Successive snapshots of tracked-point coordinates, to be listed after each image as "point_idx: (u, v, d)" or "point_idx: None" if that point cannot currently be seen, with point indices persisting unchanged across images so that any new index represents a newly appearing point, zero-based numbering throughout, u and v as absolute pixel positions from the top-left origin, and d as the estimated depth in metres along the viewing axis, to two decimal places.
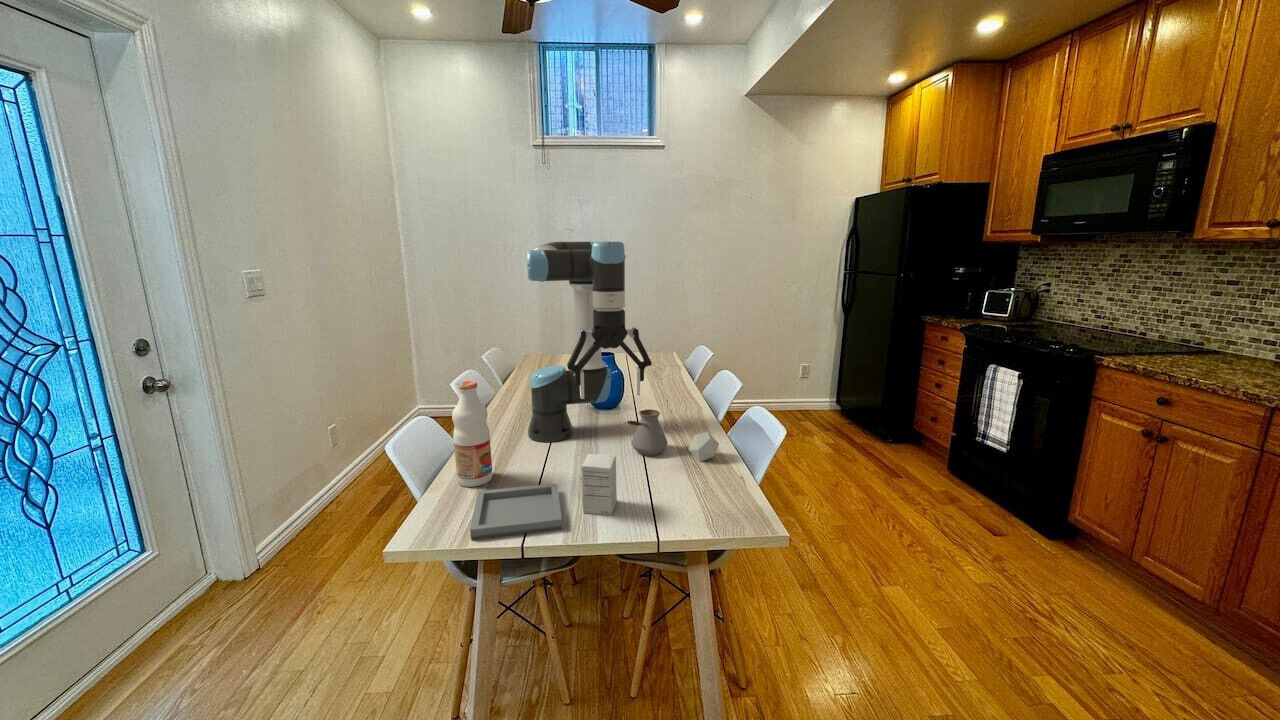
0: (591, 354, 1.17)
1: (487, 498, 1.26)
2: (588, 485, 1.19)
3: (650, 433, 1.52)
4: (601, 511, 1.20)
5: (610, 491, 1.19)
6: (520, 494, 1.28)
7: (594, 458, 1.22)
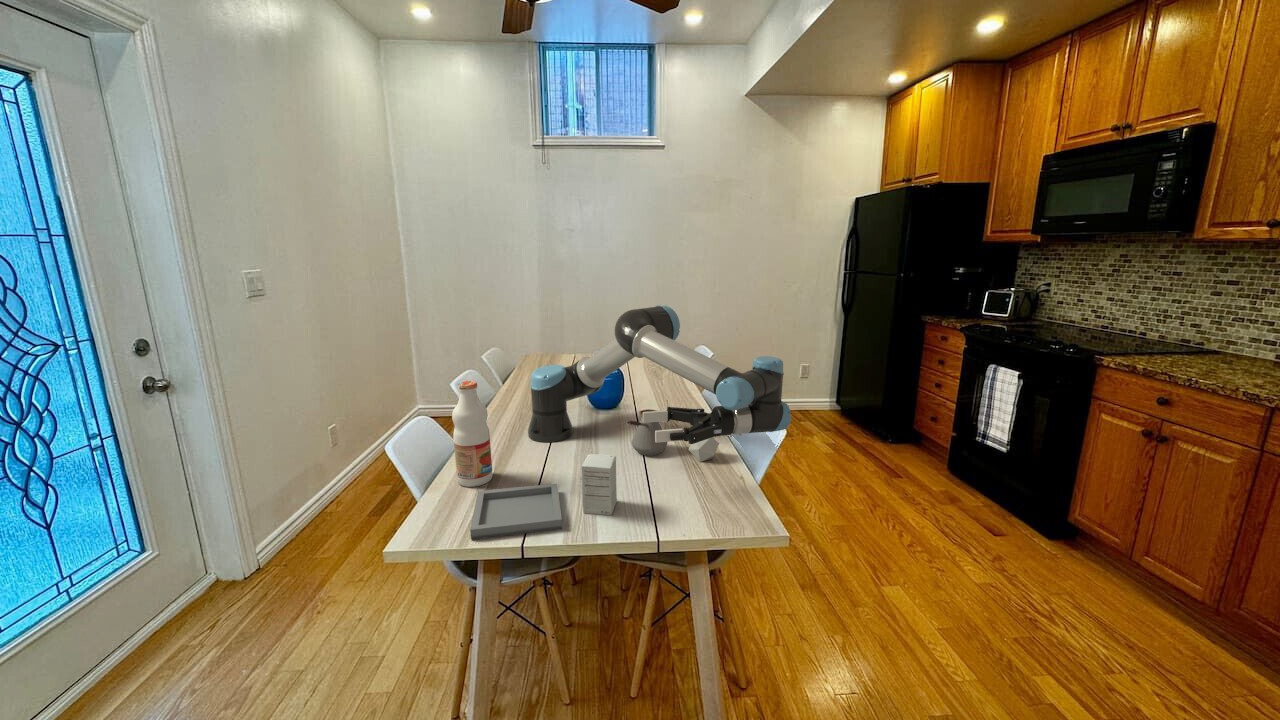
0: None
1: (487, 498, 1.26)
2: (588, 485, 1.19)
3: (650, 433, 1.52)
4: (601, 511, 1.20)
5: (610, 491, 1.19)
6: (520, 494, 1.28)
7: (594, 458, 1.22)
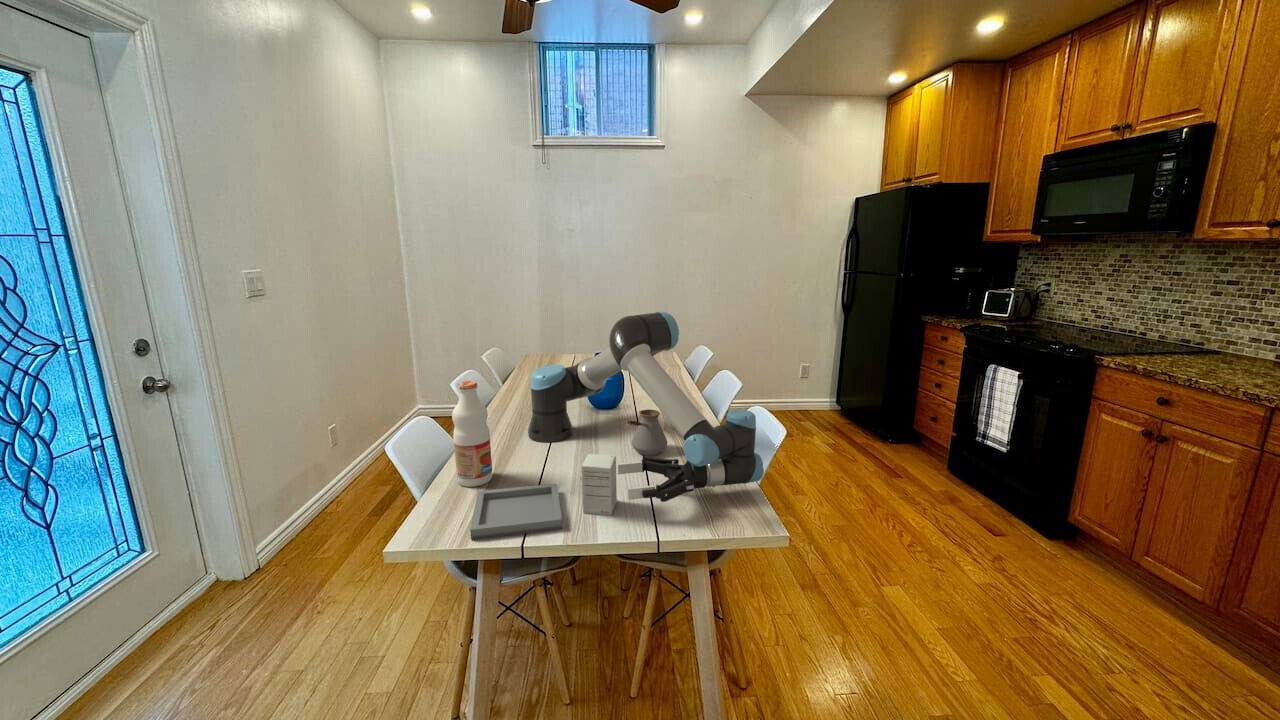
0: None
1: (487, 498, 1.26)
2: (588, 485, 1.19)
3: (650, 433, 1.52)
4: (601, 511, 1.20)
5: (610, 491, 1.19)
6: (520, 494, 1.28)
7: (594, 458, 1.22)
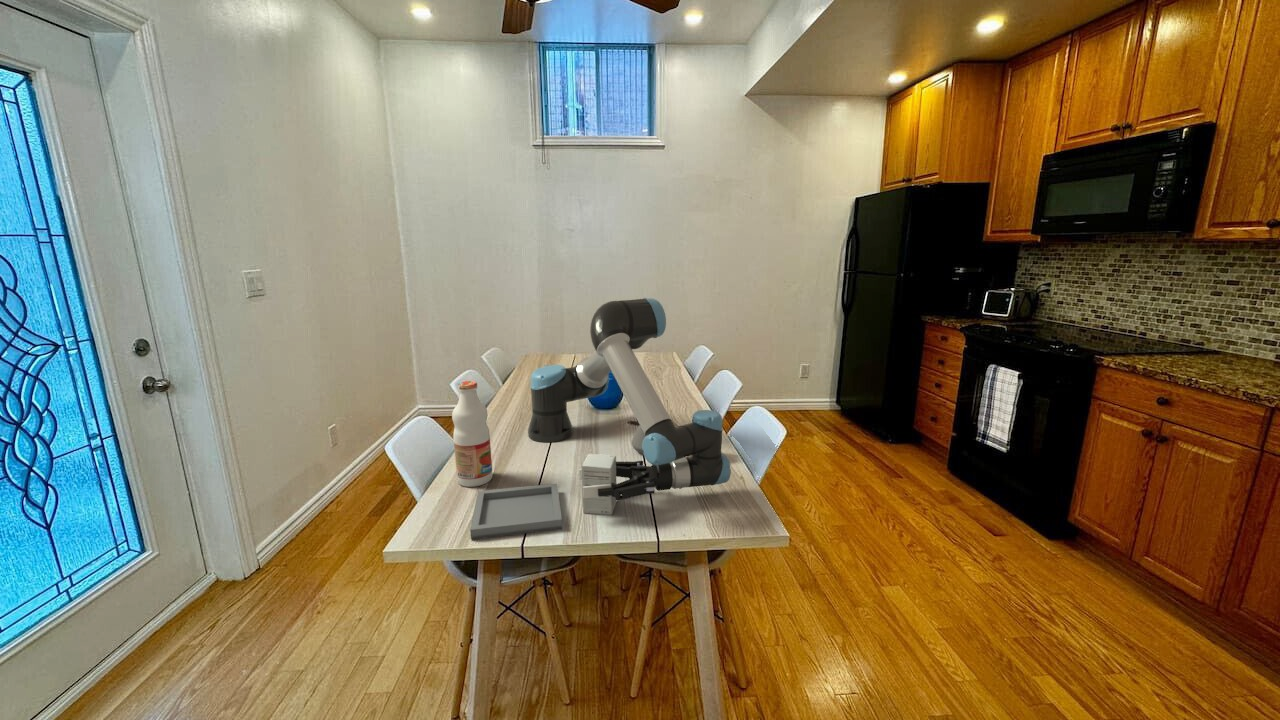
0: None
1: (487, 498, 1.26)
2: (588, 485, 1.19)
3: None
4: (601, 511, 1.20)
5: None
6: (520, 494, 1.28)
7: (594, 458, 1.22)
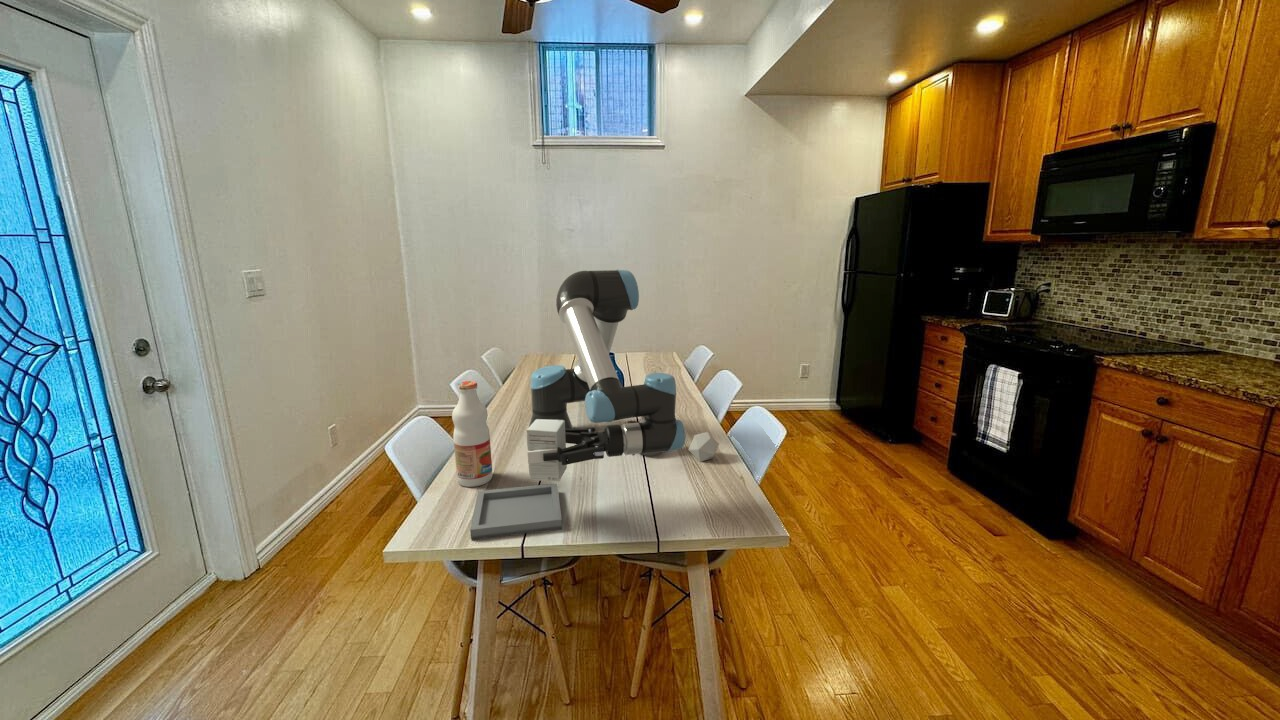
0: None
1: (487, 498, 1.26)
2: None
3: None
4: (548, 477, 1.15)
5: None
6: (520, 494, 1.28)
7: (541, 423, 1.16)
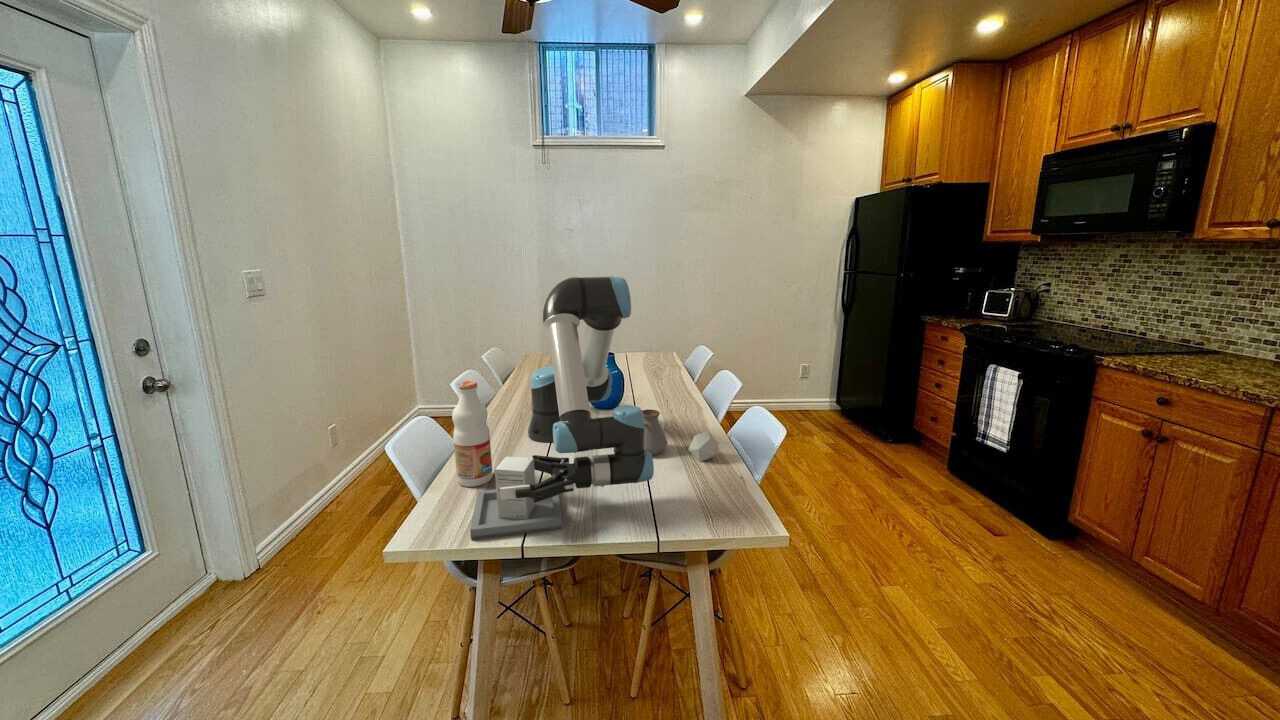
0: None
1: (487, 498, 1.26)
2: None
3: (650, 433, 1.52)
4: (516, 515, 1.17)
5: None
6: None
7: (510, 461, 1.19)
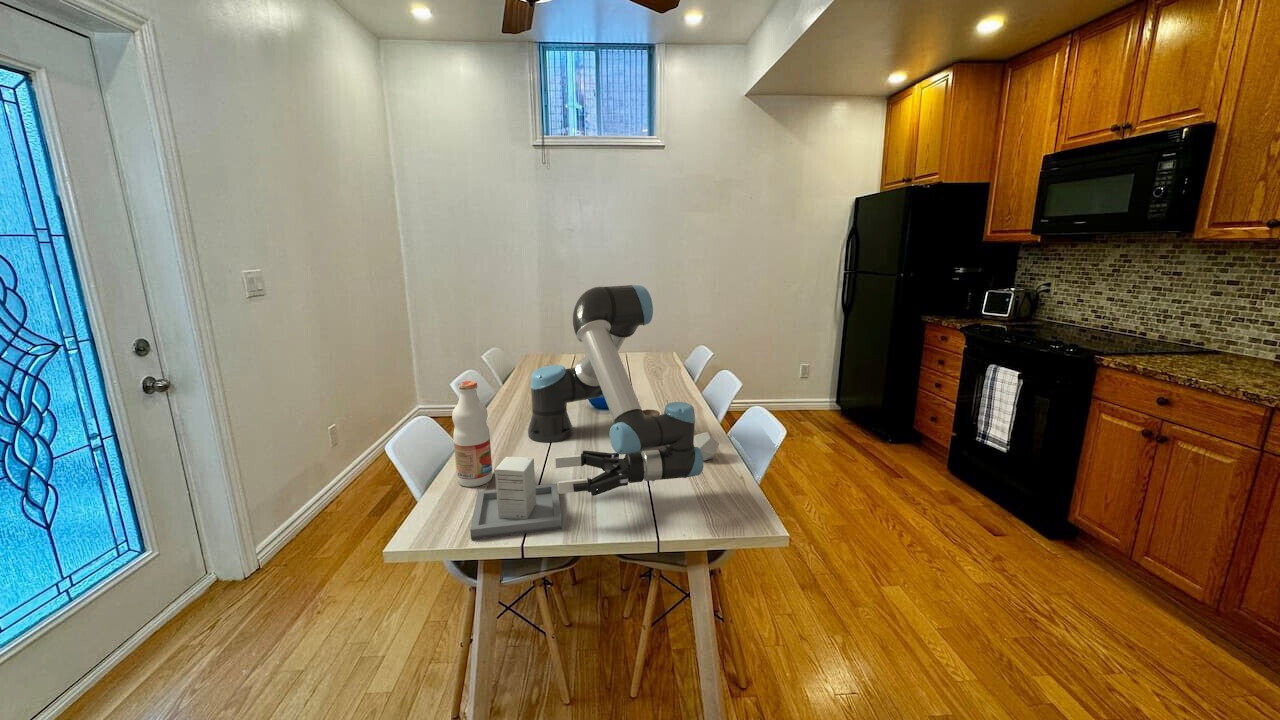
0: None
1: (487, 498, 1.26)
2: (502, 489, 1.16)
3: None
4: (516, 515, 1.17)
5: (525, 495, 1.15)
6: None
7: (510, 461, 1.19)
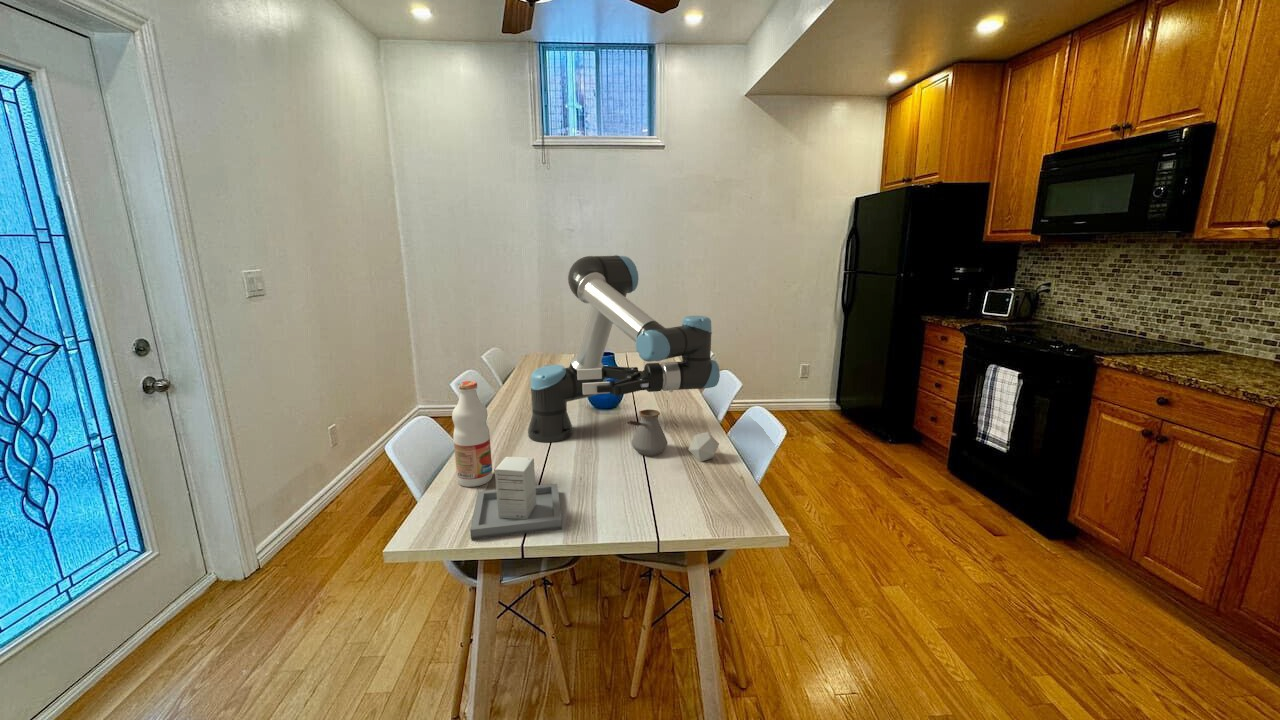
0: None
1: (487, 498, 1.26)
2: (502, 489, 1.16)
3: (650, 433, 1.52)
4: (516, 515, 1.17)
5: (525, 495, 1.15)
6: None
7: (510, 461, 1.19)
